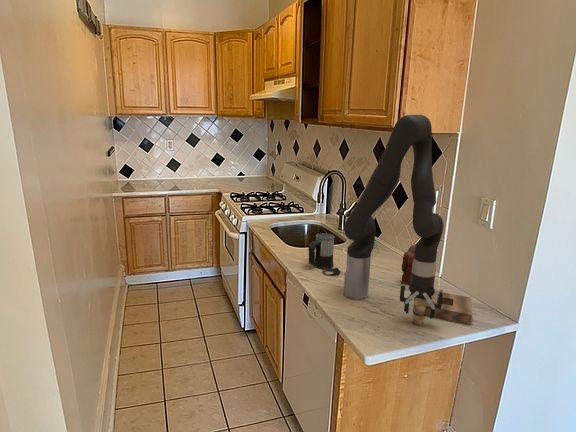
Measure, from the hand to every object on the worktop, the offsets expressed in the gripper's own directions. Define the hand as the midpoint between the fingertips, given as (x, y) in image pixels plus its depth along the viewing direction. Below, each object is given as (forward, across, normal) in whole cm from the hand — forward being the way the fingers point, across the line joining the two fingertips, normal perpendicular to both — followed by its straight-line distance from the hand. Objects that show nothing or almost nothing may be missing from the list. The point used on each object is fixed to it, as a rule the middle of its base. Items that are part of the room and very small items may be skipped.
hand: (418, 315), depth 135 cm
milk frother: (+3, -44, +32) cm, 54 cm away
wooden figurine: (+3, -5, +32) cm, 33 cm away
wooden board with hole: (+3, +8, +13) cm, 16 cm away
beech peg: (+3, 0, 0) cm, 3 cm away
